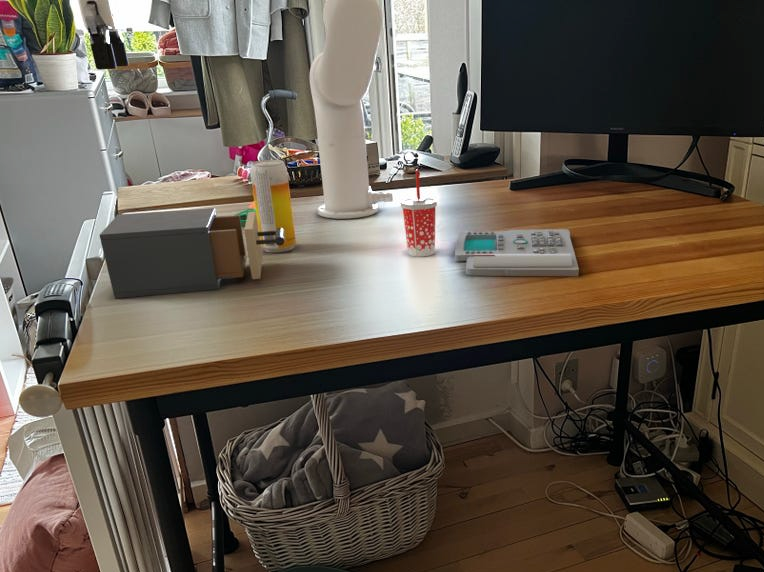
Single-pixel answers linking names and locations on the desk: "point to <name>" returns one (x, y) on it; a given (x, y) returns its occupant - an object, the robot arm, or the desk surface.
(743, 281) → the desk surface
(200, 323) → the desk surface
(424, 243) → the beverage cup
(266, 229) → the beer can
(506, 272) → the office telephone
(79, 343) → the desk surface
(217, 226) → the drawer
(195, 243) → the cabinet
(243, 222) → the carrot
